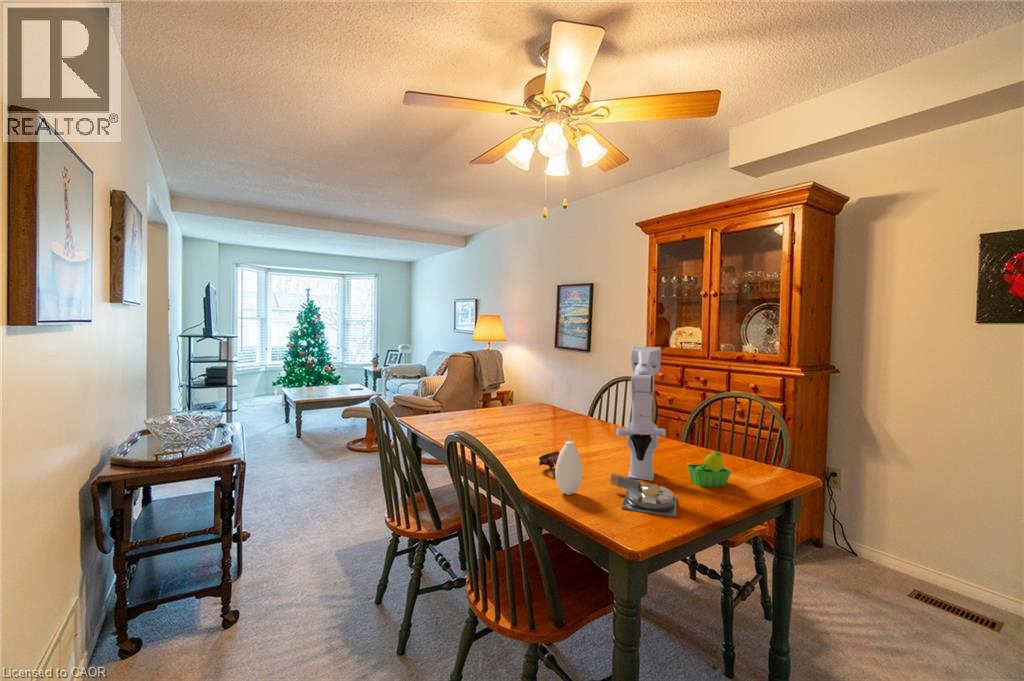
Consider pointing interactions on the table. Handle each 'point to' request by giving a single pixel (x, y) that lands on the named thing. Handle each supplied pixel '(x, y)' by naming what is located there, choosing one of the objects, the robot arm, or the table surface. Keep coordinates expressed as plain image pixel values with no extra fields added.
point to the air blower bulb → (568, 469)
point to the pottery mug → (549, 460)
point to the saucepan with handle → (636, 488)
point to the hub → (657, 508)
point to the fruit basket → (710, 471)
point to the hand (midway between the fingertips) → (639, 459)
